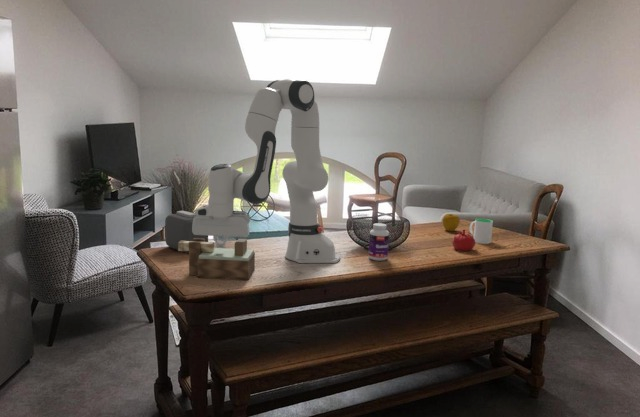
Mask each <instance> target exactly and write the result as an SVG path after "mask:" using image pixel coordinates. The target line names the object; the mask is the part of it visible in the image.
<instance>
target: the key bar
mask: <svg viewBox="0 0 640 417" xmlns="http://www.w3.org/2000/svg"><path fill="white" fill-rule="evenodd" d="M189 242H195V241H183V240H181V241H180V242H179V243H178V250H177V251H178V252H182V251H189ZM214 248H215V241H213V242H212V241H208V242H201V252H213V251H214Z"/></svg>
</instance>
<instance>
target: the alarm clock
mask: <svg viewBox="0 0 640 417" xmlns="http://www.w3.org/2000/svg"><path fill="white" fill-rule="evenodd" d="M195 216H197V215H195V212H191V211H185V210H178V211H176V213H172V214H169V215H167V216H166V217H165V219H164V222H165V223H164V225H165V226H164V228H165V230H164V232H165V244H166V246H168V247H169V248H171V249H173V250H177V251H178V243H179V242H180V241H181V240H183V241H193V239H194V238H201V239H205V242H209V236H206V235H194V234H193V232H192V224H193V219H194V217H195ZM181 252H182V253H186V252H189V251H181Z"/></svg>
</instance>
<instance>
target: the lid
mask: <svg viewBox="0 0 640 417" xmlns="http://www.w3.org/2000/svg"><path fill="white" fill-rule="evenodd" d="M254 252H255V249H248V239H247V238H238V239H237V240H236V241H235V242H234V248H226V247H225V248H216V247H214V251H213V252H202V253H201V254H200V255H199V259H217V260H238V261H248V260H249V259H250V257H251V256H252V254H253V253H254Z"/></svg>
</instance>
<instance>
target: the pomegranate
mask: <svg viewBox="0 0 640 417" xmlns="http://www.w3.org/2000/svg"><path fill="white" fill-rule="evenodd" d="M451 243H452V246H453V249H455V250H456V251H459V252H469V251H471V250H473V249H474V247H475V246H476V242H475V239H474V236H473V235H472V234H471V233H470V231H469V232H468V231H467V232H466V229H462V232H460V231H457V232H456V235H455V236H454V237H453V239H452V241H451Z"/></svg>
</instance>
